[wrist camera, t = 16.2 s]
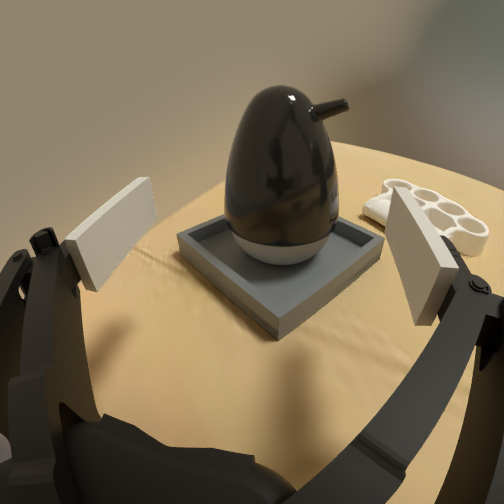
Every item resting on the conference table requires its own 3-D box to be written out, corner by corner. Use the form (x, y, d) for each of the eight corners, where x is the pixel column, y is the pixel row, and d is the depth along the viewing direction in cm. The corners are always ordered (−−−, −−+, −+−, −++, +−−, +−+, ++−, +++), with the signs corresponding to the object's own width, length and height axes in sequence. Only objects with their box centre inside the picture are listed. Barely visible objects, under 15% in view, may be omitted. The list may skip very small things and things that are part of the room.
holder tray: (281, 209, 37) (281, 192, 35) (379, 258, 27) (384, 238, 26) (180, 254, 29) (176, 233, 28) (278, 340, 20) (279, 318, 18)
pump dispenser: (321, 295, 22) (340, 90, 13) (208, 266, 26) (187, 91, 17) (343, 233, 30) (355, 88, 21) (254, 216, 33) (249, 83, 25)
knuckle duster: (344, 210, 37) (403, 193, 42) (452, 283, 24) (491, 244, 29) (347, 187, 35) (406, 174, 40) (463, 256, 22) (498, 223, 27)
